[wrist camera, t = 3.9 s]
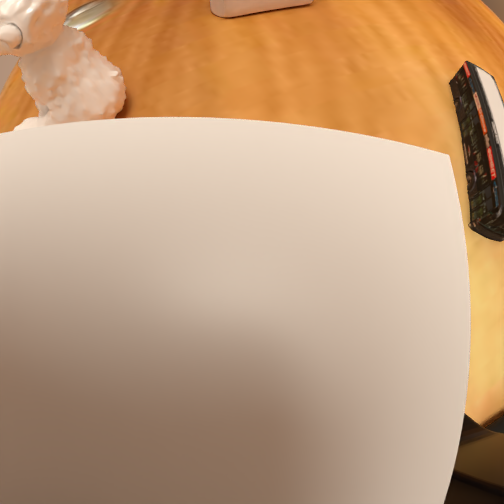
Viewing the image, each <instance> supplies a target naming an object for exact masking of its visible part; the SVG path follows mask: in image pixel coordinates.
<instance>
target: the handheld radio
mask: <svg viewBox="0 0 504 504" xmlns="http://www.w3.org/2000/svg"><path fill="white" fill-rule="evenodd" d="M485 429H488V430H490V431H493V432H497V433H503V434H504V415H503V416H501V417H500V418H499V419H497V420H496V421H494V422H493V423H491V424H490V425H488V426H487V427H485Z"/></svg>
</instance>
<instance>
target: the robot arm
mask: <svg viewBox="0 0 504 504" xmlns="http://www.w3.org/2000/svg"><path fill="white" fill-rule="evenodd" d="M444 504H504V434H503V433H497V432H493V431H490V430H488V429H485V428H484V427H482V426H480V425H479V424H478V423H476V422H475V421H474V420H472V419H471V418H470V417H469V416H467V415H466V414H465V413H464V418H463V425H462V431H461V436H460V441H459V446H458V451H457V456H456V460H455V464H454V468H453V472H452V476H451V480H450V484H449V487H448V491H447V494H446V497H445V500H444Z"/></svg>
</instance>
